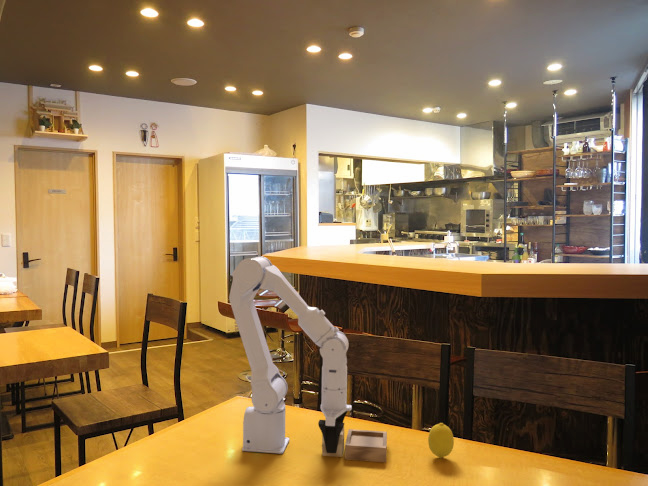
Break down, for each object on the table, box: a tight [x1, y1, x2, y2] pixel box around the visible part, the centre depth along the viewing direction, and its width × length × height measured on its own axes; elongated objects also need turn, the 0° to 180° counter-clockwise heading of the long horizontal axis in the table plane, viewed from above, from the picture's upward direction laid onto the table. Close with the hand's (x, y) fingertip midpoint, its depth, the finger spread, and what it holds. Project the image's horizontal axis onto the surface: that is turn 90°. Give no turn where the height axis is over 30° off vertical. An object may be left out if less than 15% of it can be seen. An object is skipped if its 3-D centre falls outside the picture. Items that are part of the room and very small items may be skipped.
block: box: [321, 426, 345, 458], centre depth 119 cm, size 4×4×5 cm
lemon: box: [427, 422, 455, 459], centre depth 116 cm, size 6×6×8 cm
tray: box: [344, 428, 388, 463], centre depth 119 cm, size 9×9×3 cm
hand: (333, 445), depth 119 cm, fingers open, 7 cm apart
